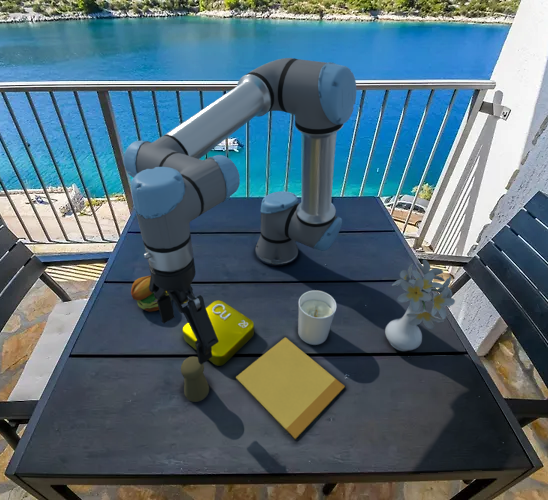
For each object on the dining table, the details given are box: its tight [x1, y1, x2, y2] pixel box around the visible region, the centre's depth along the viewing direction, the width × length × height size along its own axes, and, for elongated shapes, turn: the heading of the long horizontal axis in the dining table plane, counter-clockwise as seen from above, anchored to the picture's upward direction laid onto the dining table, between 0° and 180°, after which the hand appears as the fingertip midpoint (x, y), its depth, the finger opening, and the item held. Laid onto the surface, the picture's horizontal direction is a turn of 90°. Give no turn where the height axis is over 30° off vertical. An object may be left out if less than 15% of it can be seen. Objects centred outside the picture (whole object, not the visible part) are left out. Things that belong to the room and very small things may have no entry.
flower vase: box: [384, 259, 456, 352], centre depth 87 cm, size 13×18×25 cm
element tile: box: [181, 299, 255, 367], centre depth 96 cm, size 15×15×5 cm
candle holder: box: [297, 289, 338, 346], centre depth 94 cm, size 10×10×12 cm
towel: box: [235, 337, 346, 440], centre depth 86 cm, size 18×20×1 cm
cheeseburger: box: [130, 275, 169, 313], centre depth 105 cm, size 10×11×10 cm
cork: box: [180, 356, 210, 403], centre depth 81 cm, size 6×6×11 cm
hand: (185, 338), depth 72 cm, fingers open, 13 cm apart
